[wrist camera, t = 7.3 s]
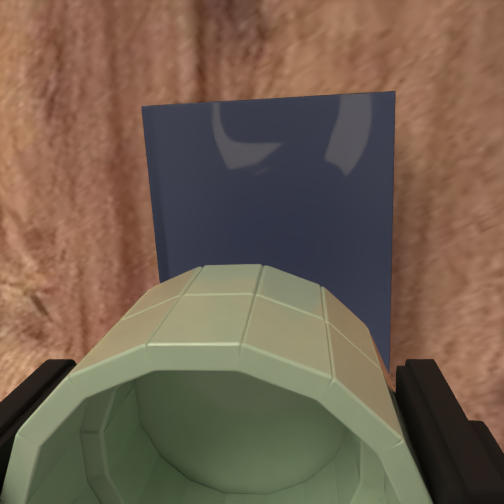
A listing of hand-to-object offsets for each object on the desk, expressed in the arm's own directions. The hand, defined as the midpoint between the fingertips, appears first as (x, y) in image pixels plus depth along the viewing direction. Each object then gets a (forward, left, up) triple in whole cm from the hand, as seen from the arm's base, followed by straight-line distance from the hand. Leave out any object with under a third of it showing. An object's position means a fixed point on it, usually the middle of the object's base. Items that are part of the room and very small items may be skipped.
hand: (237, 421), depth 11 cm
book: (0, 0, -16) cm, 16 cm away
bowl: (0, 0, -1) cm, 1 cm away
